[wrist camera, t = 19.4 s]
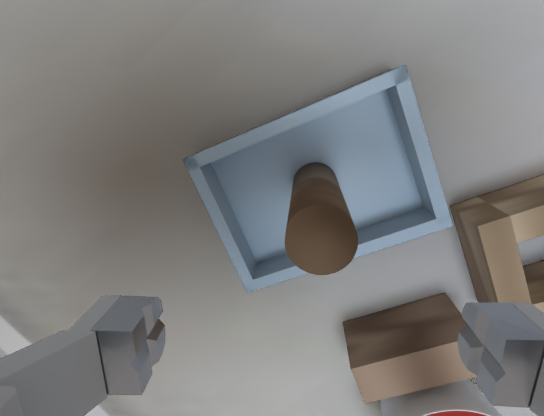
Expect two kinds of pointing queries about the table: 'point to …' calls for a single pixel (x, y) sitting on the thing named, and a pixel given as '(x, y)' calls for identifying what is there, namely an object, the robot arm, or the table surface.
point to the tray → (340, 158)
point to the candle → (440, 402)
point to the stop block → (406, 348)
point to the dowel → (319, 222)
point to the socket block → (503, 242)
